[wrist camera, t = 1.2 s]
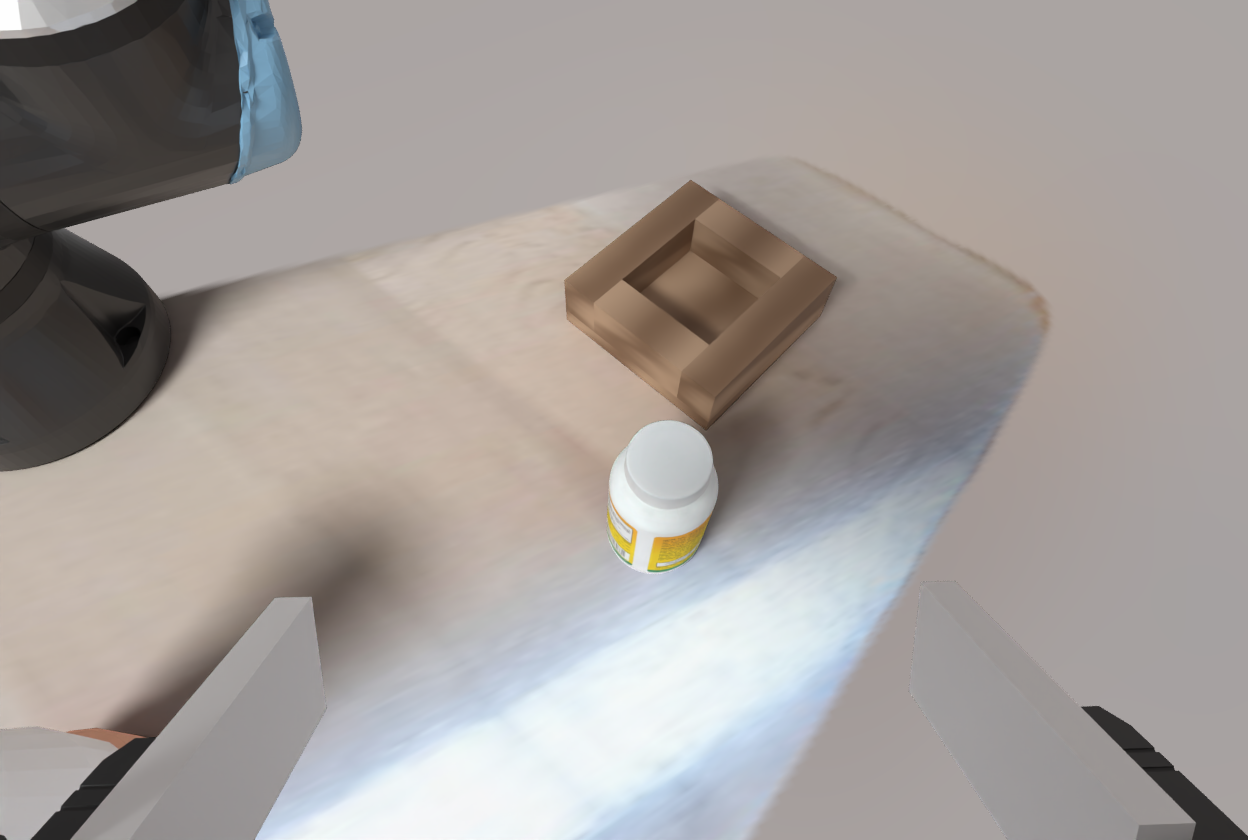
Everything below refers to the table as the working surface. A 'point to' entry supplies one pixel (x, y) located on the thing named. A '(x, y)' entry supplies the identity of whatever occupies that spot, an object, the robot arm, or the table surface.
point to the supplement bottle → (661, 497)
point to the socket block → (697, 300)
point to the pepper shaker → (46, 772)
